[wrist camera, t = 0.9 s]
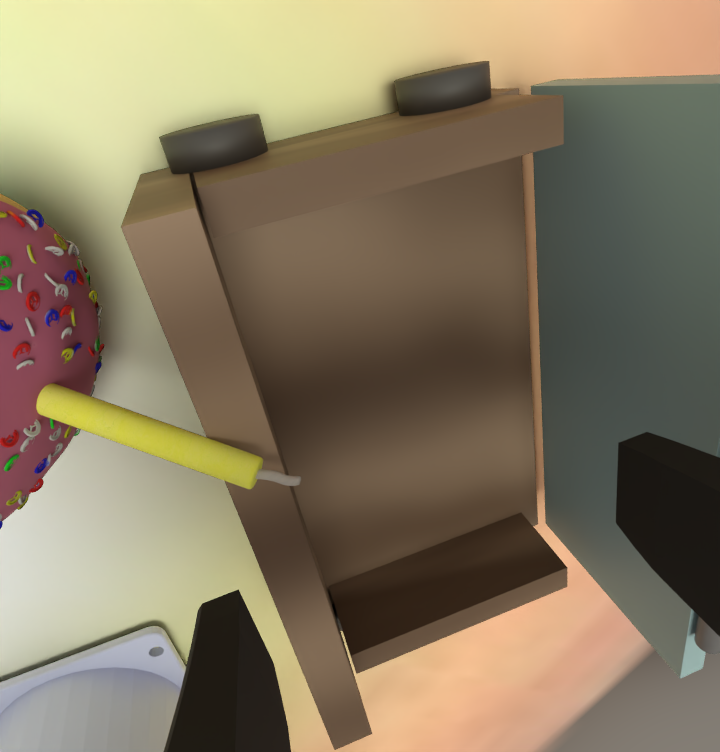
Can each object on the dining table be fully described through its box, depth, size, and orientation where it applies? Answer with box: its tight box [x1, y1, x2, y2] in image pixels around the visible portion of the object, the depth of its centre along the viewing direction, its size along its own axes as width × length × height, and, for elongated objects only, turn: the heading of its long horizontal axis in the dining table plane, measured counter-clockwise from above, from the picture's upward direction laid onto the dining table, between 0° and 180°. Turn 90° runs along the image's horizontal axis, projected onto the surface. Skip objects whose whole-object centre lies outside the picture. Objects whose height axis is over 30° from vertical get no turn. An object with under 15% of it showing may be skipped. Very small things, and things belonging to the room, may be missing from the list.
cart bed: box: [121, 61, 567, 750], centre depth 16 cm, size 18×10×6 cm, turn 12°
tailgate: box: [531, 75, 720, 678], centre depth 15 cm, size 16×1×8 cm, turn 12°
